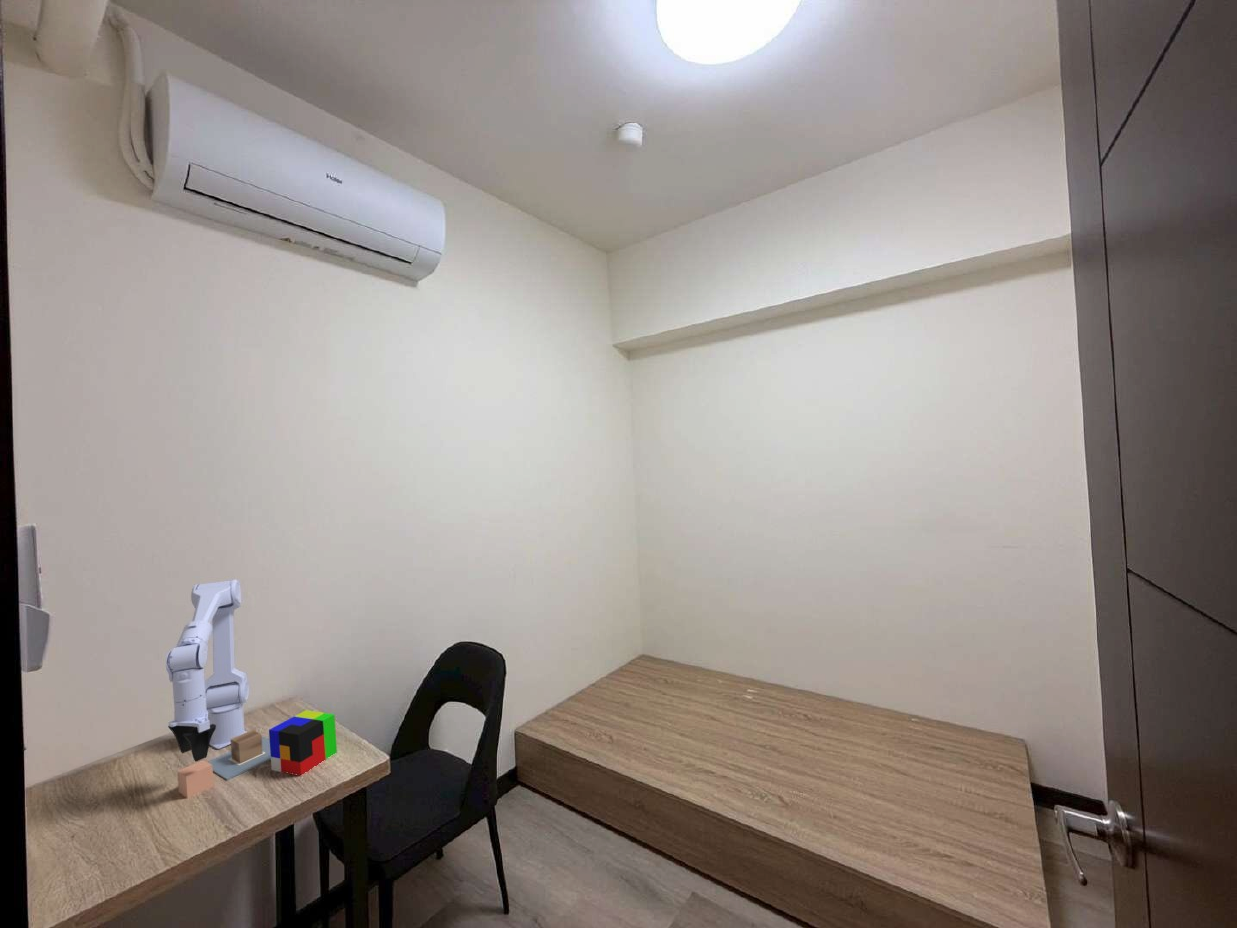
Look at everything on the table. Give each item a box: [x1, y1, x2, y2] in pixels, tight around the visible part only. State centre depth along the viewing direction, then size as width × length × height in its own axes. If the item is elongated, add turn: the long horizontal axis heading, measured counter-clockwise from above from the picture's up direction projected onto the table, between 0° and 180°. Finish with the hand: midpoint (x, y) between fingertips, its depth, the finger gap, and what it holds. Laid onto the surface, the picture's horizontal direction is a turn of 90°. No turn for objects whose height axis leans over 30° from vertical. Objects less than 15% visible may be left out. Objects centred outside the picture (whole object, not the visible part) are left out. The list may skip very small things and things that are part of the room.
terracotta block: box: [176, 759, 215, 799], centre depth 121 cm, size 5×5×5 cm
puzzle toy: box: [268, 710, 338, 776], centre depth 130 cm, size 10×10×10 cm
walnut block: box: [230, 729, 263, 764], centre depth 133 cm, size 5×5×5 cm
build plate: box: [207, 736, 271, 781], centre depth 133 cm, size 14×14×1 cm
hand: (194, 754), depth 121 cm, fingers open, 7 cm apart
